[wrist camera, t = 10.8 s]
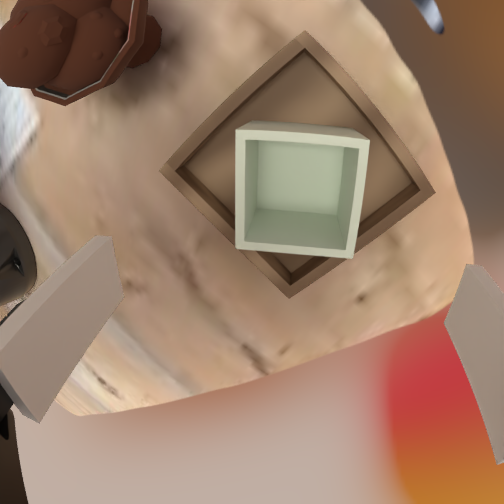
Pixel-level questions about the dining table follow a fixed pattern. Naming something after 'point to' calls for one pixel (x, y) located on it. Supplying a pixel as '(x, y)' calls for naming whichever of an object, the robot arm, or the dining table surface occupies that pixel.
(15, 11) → the ice cream bowl
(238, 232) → the sage crate
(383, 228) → the walnut tray
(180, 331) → the dining table surface
